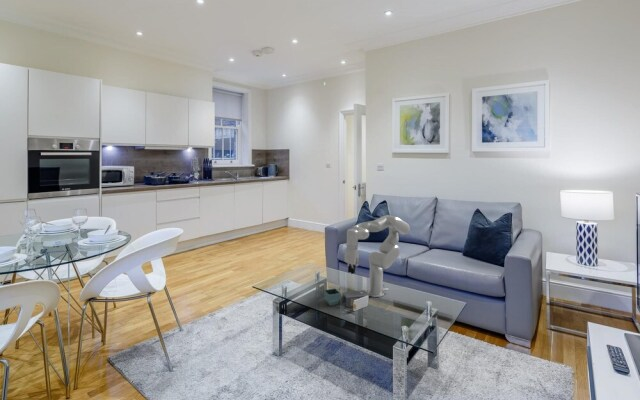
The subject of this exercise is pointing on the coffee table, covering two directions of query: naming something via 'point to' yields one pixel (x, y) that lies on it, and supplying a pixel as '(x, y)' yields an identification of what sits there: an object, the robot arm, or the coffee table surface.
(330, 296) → the flower pot
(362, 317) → the coffee table surface
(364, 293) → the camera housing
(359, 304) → the side door
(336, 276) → the coffee table surface
